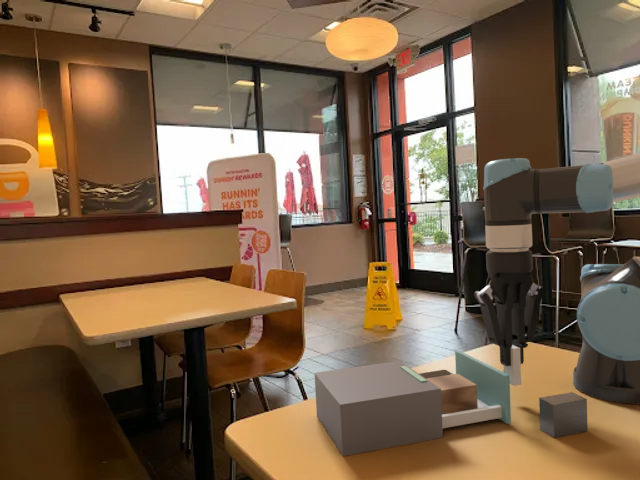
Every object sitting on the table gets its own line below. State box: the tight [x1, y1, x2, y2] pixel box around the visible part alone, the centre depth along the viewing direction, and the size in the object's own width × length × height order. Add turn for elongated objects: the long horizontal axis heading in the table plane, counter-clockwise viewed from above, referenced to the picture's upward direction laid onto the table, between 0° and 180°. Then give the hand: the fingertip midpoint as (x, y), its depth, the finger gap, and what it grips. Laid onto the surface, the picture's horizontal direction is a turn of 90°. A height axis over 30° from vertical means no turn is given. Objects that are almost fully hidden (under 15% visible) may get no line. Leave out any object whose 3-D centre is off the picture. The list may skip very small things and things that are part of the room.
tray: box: [442, 350, 512, 429], centre depth 82 cm, size 16×15×8 cm
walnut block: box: [426, 373, 478, 415], centre depth 83 cm, size 7×6×4 cm
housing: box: [314, 360, 444, 457], centre depth 79 cm, size 16×15×8 cm
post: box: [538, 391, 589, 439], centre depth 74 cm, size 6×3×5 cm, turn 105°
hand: (512, 382), depth 86 cm, fingers closed
